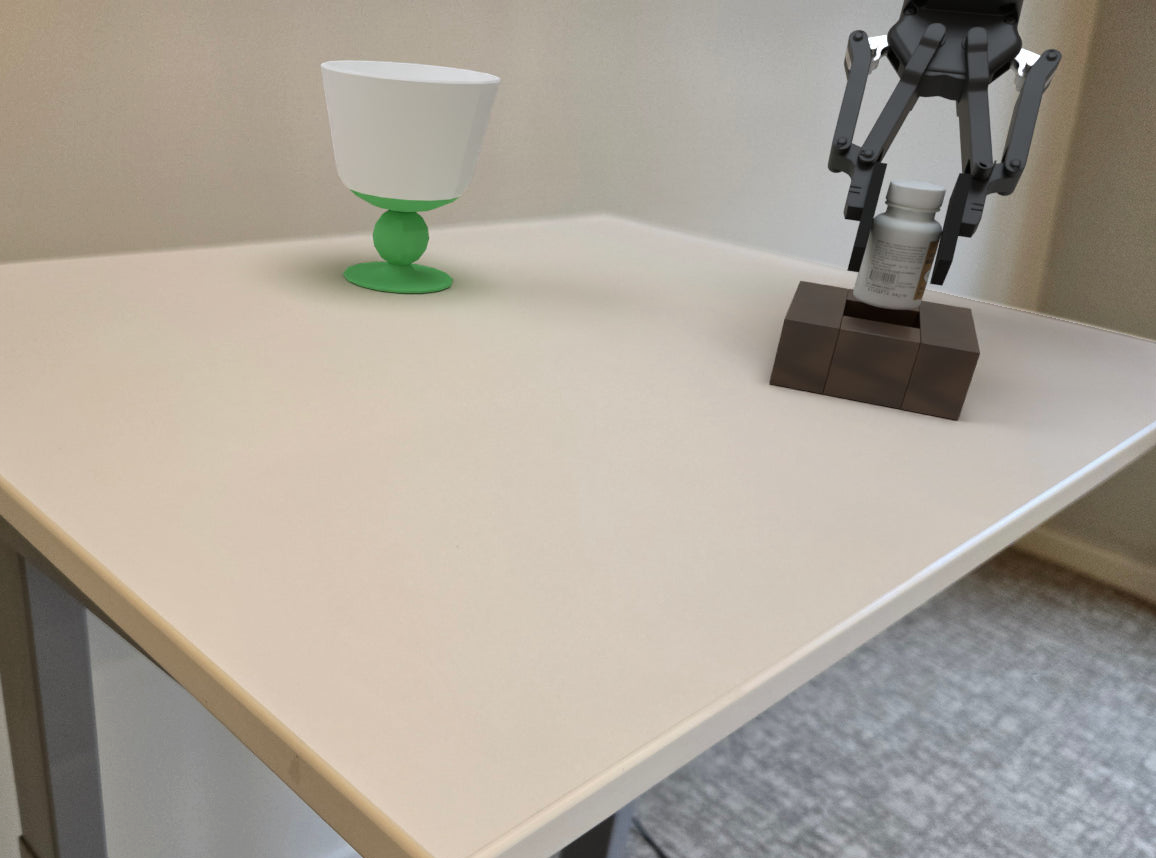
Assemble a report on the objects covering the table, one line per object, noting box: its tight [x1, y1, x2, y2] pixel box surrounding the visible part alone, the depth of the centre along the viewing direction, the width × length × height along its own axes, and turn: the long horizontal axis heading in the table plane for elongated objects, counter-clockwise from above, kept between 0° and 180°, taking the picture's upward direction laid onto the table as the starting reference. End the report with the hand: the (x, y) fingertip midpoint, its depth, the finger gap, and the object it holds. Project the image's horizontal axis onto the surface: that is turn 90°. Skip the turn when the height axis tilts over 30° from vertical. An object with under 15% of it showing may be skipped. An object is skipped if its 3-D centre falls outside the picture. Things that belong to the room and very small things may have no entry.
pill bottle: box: [853, 179, 947, 310], centre depth 71 cm, size 4×4×8 cm
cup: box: [319, 59, 502, 294], centre depth 85 cm, size 14×14×16 cm
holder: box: [768, 280, 981, 421], centre depth 74 cm, size 12×12×4 cm
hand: (898, 265), depth 68 cm, fingers closed on pill bottle, 4 cm apart
